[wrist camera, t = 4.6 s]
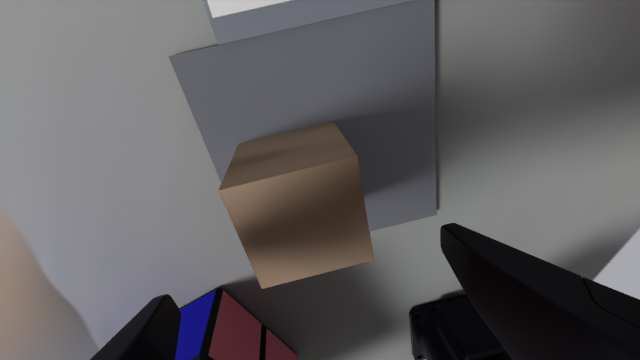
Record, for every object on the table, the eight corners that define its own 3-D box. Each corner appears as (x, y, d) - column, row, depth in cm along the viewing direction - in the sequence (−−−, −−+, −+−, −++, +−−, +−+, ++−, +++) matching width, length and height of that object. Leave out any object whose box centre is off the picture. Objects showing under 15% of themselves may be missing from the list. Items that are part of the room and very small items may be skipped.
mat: (433, 211, 18) (436, 214, 18) (254, 255, 18) (253, 259, 17) (430, -3, 13) (434, -5, 12) (171, 56, 12) (168, 56, 12)
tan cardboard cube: (348, 201, 16) (374, 260, 12) (266, 222, 16) (261, 289, 12) (333, 120, 14) (357, 155, 10) (237, 144, 14) (218, 190, 10)
